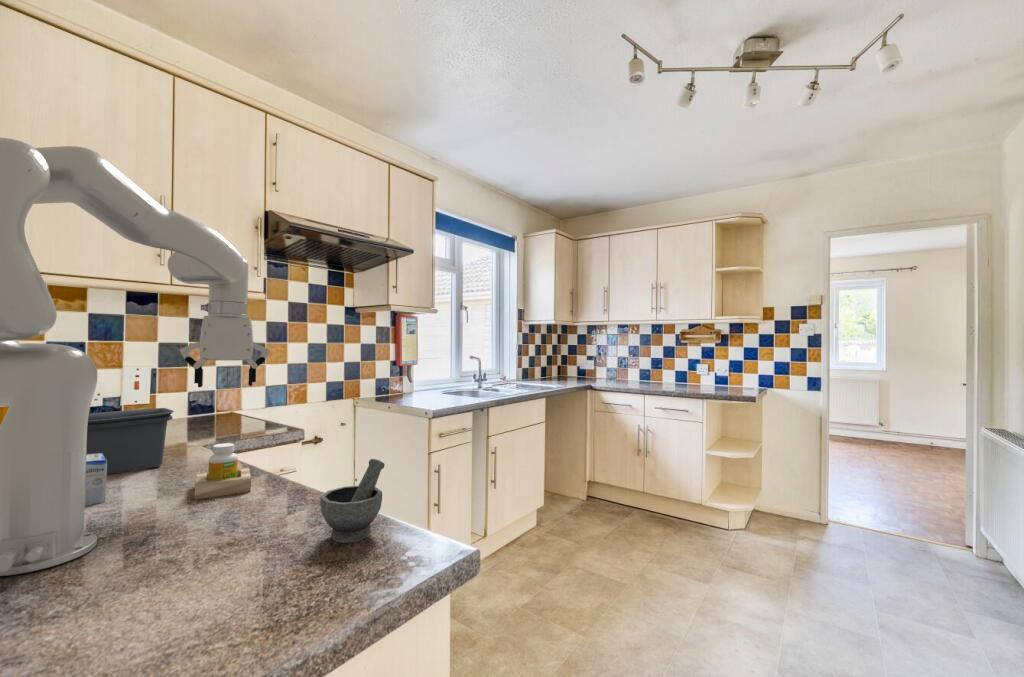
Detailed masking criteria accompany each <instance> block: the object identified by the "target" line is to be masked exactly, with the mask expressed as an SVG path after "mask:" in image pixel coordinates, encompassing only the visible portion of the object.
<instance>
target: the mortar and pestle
mask: <svg viewBox="0 0 1024 677" xmlns="http://www.w3.org/2000/svg"><path fill="white" fill-rule="evenodd" d="M385 465H386V464H385V463H384V462H383V461H382V460H380V459H376V458H370V459H369V461H368V467H366V468H367V469H366V470H365V473H364V474H363V476H362V478H361V480H360V482H359V484H358V485H351V486H350V485H349V486H342V487H338V488H334V489H331V490H330V489H329V490H327V491H326V492H325V493H324V494H322V495H321V496H320V511H321V515H322V517H323V519H324V520H325V523H327V525H328V526H329V527H330V528H331V529H332V530H331V535H330V536H331V537H332V538H331V537H330V538H331V540H333V541H334V542H335V541H336V542H337V543H342V544H348V543H356V542H359V541H362V540H364V538H365V539H367V538H368V537H369V536H370V534H371V523H373V521H374V520H375V519H376V517H377V516H378V514H379V512H380V510H381V508H382V502H383V491H382V490H380V488H378V487H376V485H377V483H378V481H379V476H380V474H381V471H382V470H383V469H384V467H385ZM368 535H369V536H368ZM366 537H367V538H366Z"/></svg>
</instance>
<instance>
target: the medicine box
mask: <svg viewBox="0 0 1024 677" xmlns="http://www.w3.org/2000/svg"><path fill="white" fill-rule="evenodd" d="M107 476H108V475H107V460H106V459H105V457H104V456H103V454H102V453H101V454H87V455H86V484H85V507H86V506H92V505H97V503H98V504H102V503H105V502H106V499H107V498H106V497H107Z"/></svg>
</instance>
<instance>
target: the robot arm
mask: <svg viewBox="0 0 1024 677" xmlns="http://www.w3.org/2000/svg"><path fill="white" fill-rule="evenodd" d="M63 203H64V204H65V203H71V204H74V205H76V206H78V207H79V208H80V209H82V210H83V211H85V212H86V213H88V214H89V215H91V216H92V217H94V218H95V219H97V220H98V221H100V222H101V223H102V224H104V225H105V226H106V227H107V228H109V229H111V230H112V231H114V232H115V233H117V234H118V235H120V236H121V237H123V238H124V239H126V240H128V241H130V242H133V243H136V244H140V245H143V246H146V247H151V248H155V249H161V250H165V251H170V252H173V253H171V255H170V256H169V258H168V260H167V269H168V272H169V273H170V275H171V276H172V277H173V278H174V279H176V280H177V281H178V282H181V283H184V284H188V285H205V286H206V285H207V286H208V302H207V303H204V304H202V303H201V304H200V311H204V312H206V313H207V314H208V315H203V318H202V322H201V327H200V336H199V341H197V342H193V343H191V344H189V345H186V346H184V347H181V348H180V349H179V352H180V354H181V356H182V357H183V359H184V360H185V362H186V363H187V364H188V365H190V366H191V367H192V368H193V369H194V378H193V379H194V380H193V382H194V384H197V388H202V387H203V386H204V384H203V383H204V381H203V380H204V368H203V365H204V364H205V363H206V362H208V361H246V362H247V364H248V365H249V368H248V386H250V387H253V383H256V381H257V368H258V367H260V366H261V365H262V364H263V363H264V362H265V361H266V359H267V358H268V356H269V354H270V353H271V349H269V348H267V347H265V346H263V345H261V344H259V343H257V342H254V336H253V335H254V334H253V333H254V331H253V323H252V318H251V317H248V295H249V294H248V293H249V262H248V260H246V259H245V258H243V256H242V254H241V253H240V252H239V251H238V249H236V248H235V246H234V245H232V244H231V243H230V242H229V241H228V240H227V239H226V238H224V237H223V236H222V235H221V234H220V233H219V232H217V231H216V230H214V229H212V228H210V227H209V226H207V225H204V224H203V223H201V222H198V221H196V220H194V219H191V218H189V217H188V216H185V215H183V214H181V213H179V212H176V211H174V210H171V209H169V208H168V207H164V206H163V205H161V204H160V203H159V202H158V201H156V200H155V199H154V198H153V197H152V196H150V195H149V193H147V192H146V191H144V190H143V189H142V188H141V187H140V186H139V185H138V184H136V183H135V182H134V181H133V180H132V179H131V178H129V177H128V176H127V175H126V174H124V173H123V172H122V171H121V170H119V169H118V168H117V167H116V166H114V165H113V164H112V163H111V162H110V161H108V159H106V158H105V157H104V156H102V155H101V154H99V153H98V152H96V151H94V150H92V149H89V148H86V147H82V146H75V145H73V146H72V145H65V146H47V147H46V146H45V147H33V146H32V145H30V144H29V143H27V142H24V141H21V140H18V139H12V138H9V137H8V138H7V137H0V407H8V408H7V412H6V414H5V415H4V417H3V419H2V421H1V423H0V577H5V576H13V575H19V574H20V575H22V574H27V573H32V572H35V571H36V572H37V571H40V570H44V569H49V568H52V567H55V566H58V565H61V564H65V563H67V562H69V561H70V562H71V561H72V560H75V559H77V558H79V557H81V556H84V555H85V554H87V553H89V552H91V551H92V550H93V549H94V548H95V547H96V546H97V544H98V543H97V542H98V536H97V535H96V534H94V533H92V532H88V531H85V513H86V512H85V511H86V509H85V508H86V506H85V484H86V454H87V426H88V416H89V414H90V410H91V405H92V402H93V398H94V395H95V392H96V387H97V383H98V368H97V366H96V364H95V362H94V359H92V358H91V357H90V355H88V354H87V353H85V352H84V351H82V350H81V349H78V348H76V347H73V346H69V345H65V344H61V343H60V344H58V343H40V342H39V343H29V342H28V343H25V342H24V343H20V342H19V341H20V340H28V339H33V338H36V337H39V336H42V335H44V334H46V333H48V332H49V331H50V330H51V329H52V328H53V327H54V326H55V324H56V321H57V316H58V314H57V313H58V312H57V309H56V308H57V307H56V305H55V302H54V300H53V298H52V297H53V296H52V295H51V293H50V291H49V289H48V286H47V285H46V283H45V280H44V278H43V276H42V274H41V272H40V268H39V267H38V265H37V263H36V260H35V259H34V257H33V254H32V252H31V249H30V246H29V244H28V242H27V237H26V234H25V232H26V231H25V224H26V219H27V216H28V214H29V212H30V210H31V209H32V207H33V205H39V204H40V205H41V204H63ZM198 348H199V349H198ZM196 349H198V350H199V351H198V352H199V359H198V360H197V361H196V359H194V358H193V357H192V356H191V353H190V352H191V351H194V350H196ZM254 350H257V351H259V352H261V355H260V357H258V359H256V360H254V359H253V354H254Z"/></svg>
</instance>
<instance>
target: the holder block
mask: <svg viewBox="0 0 1024 677" xmlns="http://www.w3.org/2000/svg"><path fill="white" fill-rule="evenodd" d="M208 474H209V471H203V472H197V473H196V479H195V483H194V500H200V499H206V498H215V497H220V496H221V497H222V496H228V495H235V493H237V494H242V492H244V493H249V492H248V491H252V488H251V487H252V475H251V471H250V467H249V466H248V467H240V468H238V467H237V477H236V478H228V479H219V480H211V481H208V476H209V475H208Z"/></svg>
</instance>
